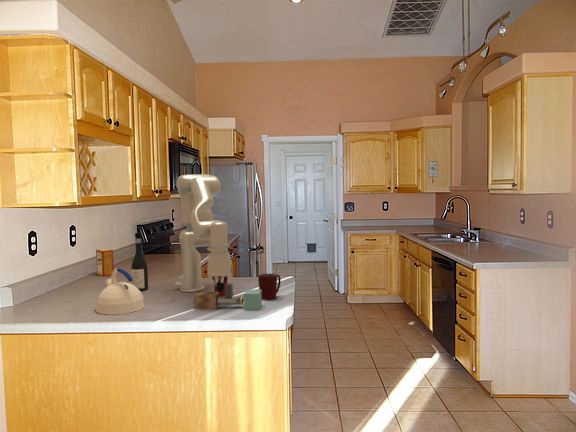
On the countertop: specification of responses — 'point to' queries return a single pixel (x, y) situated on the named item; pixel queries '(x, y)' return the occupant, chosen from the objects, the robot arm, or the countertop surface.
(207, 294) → the guide sleeve
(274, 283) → the mug
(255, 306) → the socket block
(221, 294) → the soda can
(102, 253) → the baking soda box
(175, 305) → the countertop surface
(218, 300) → the slide bolt
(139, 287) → the wine bottle
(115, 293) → the kettle
